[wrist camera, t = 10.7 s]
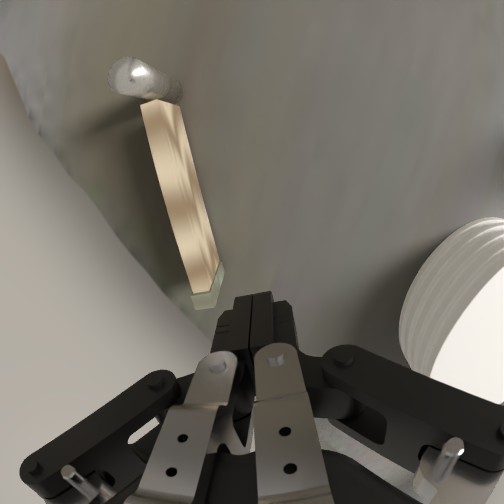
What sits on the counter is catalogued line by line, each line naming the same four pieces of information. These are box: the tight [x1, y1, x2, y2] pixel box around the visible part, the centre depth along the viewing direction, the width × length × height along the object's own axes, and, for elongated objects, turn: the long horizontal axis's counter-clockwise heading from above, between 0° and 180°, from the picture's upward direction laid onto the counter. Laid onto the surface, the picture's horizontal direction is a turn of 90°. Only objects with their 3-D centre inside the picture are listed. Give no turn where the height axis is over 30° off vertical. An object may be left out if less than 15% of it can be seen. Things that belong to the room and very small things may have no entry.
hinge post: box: [108, 57, 183, 104], centre depth 24 cm, size 3×3×12 cm
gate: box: [140, 99, 225, 310], centre depth 30 cm, size 20×2×8 cm, turn 13°
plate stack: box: [399, 217, 504, 404], centre depth 33 cm, size 28×28×12 cm
